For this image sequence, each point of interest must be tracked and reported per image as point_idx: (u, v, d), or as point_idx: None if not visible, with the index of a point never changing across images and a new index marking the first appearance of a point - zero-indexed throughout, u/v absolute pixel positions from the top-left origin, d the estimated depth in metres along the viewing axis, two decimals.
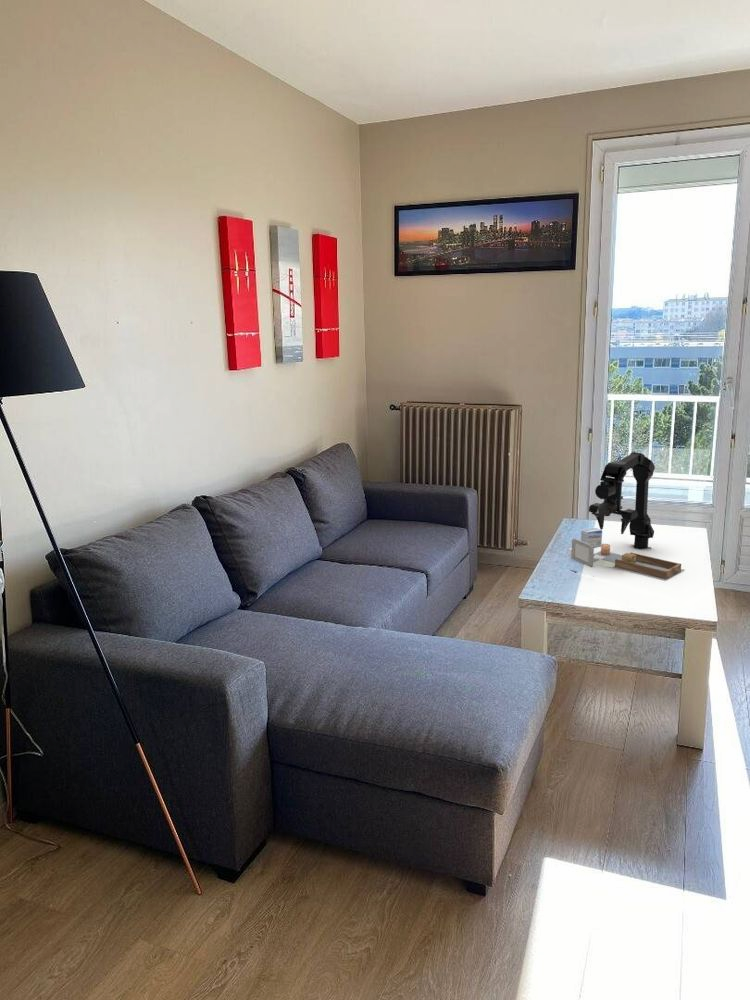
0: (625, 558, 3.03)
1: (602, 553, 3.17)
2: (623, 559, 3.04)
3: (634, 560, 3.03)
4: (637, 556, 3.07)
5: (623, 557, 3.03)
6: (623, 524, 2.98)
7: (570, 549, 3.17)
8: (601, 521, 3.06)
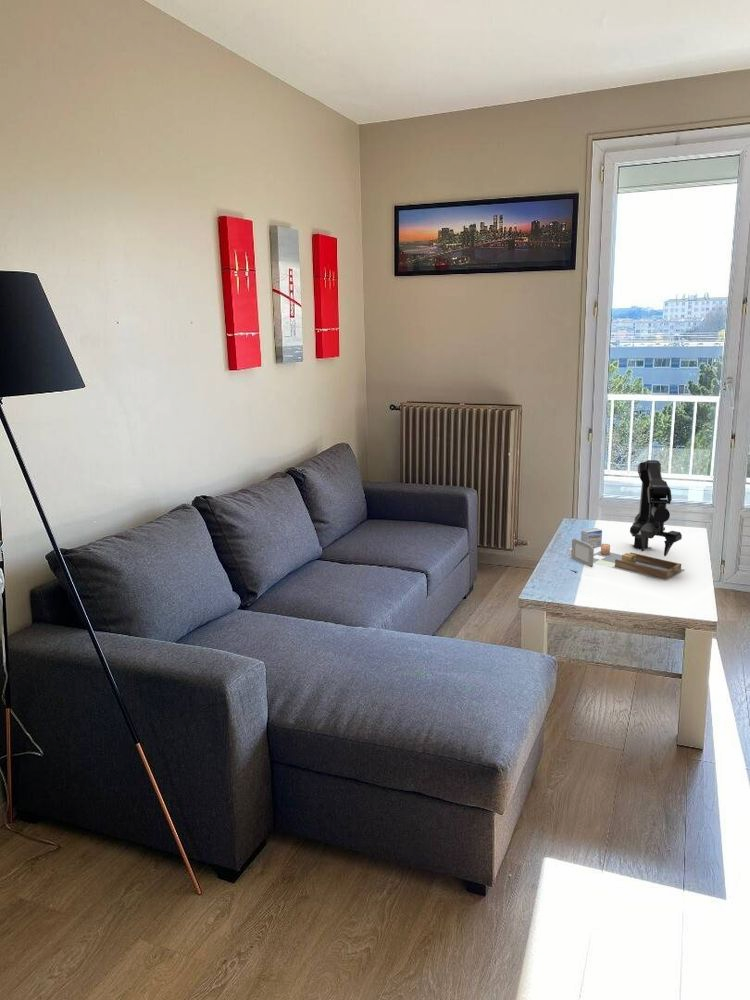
0: (625, 558, 3.03)
1: (602, 553, 3.17)
2: (623, 559, 3.04)
3: (634, 560, 3.03)
4: (637, 556, 3.07)
5: (623, 557, 3.03)
6: (666, 546, 2.90)
7: (570, 549, 3.17)
8: (643, 542, 2.98)
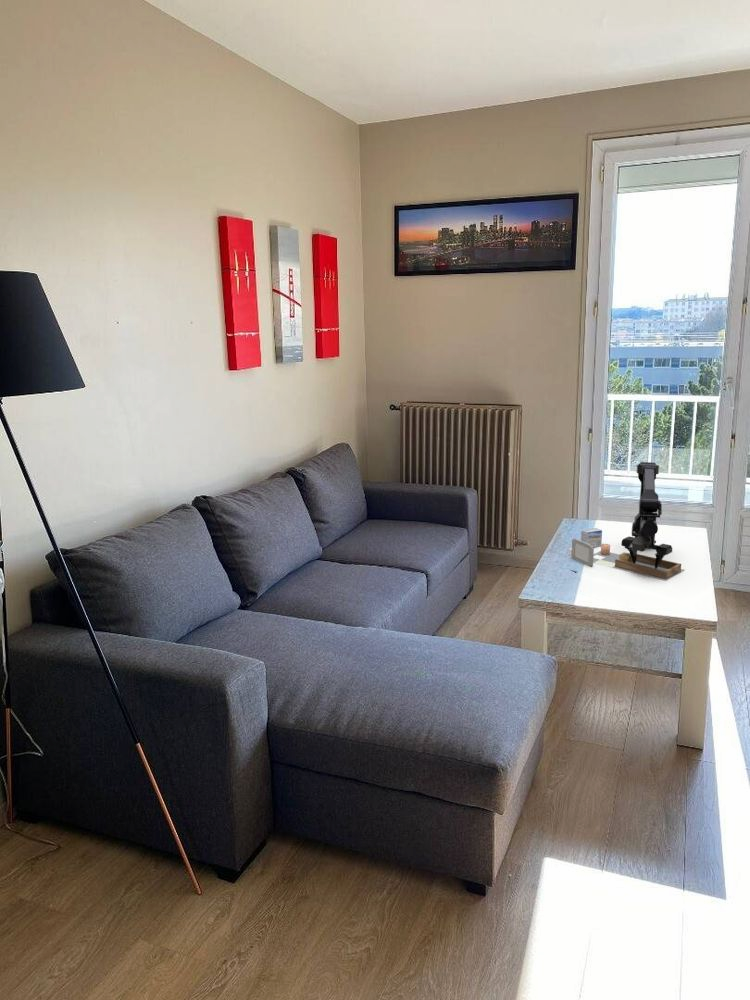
0: (622, 558, 3.04)
1: (602, 553, 3.17)
2: (620, 558, 3.04)
3: (631, 560, 3.04)
4: (637, 556, 3.07)
5: (620, 556, 3.04)
6: (657, 559, 2.94)
7: (570, 549, 3.17)
8: (634, 555, 3.02)
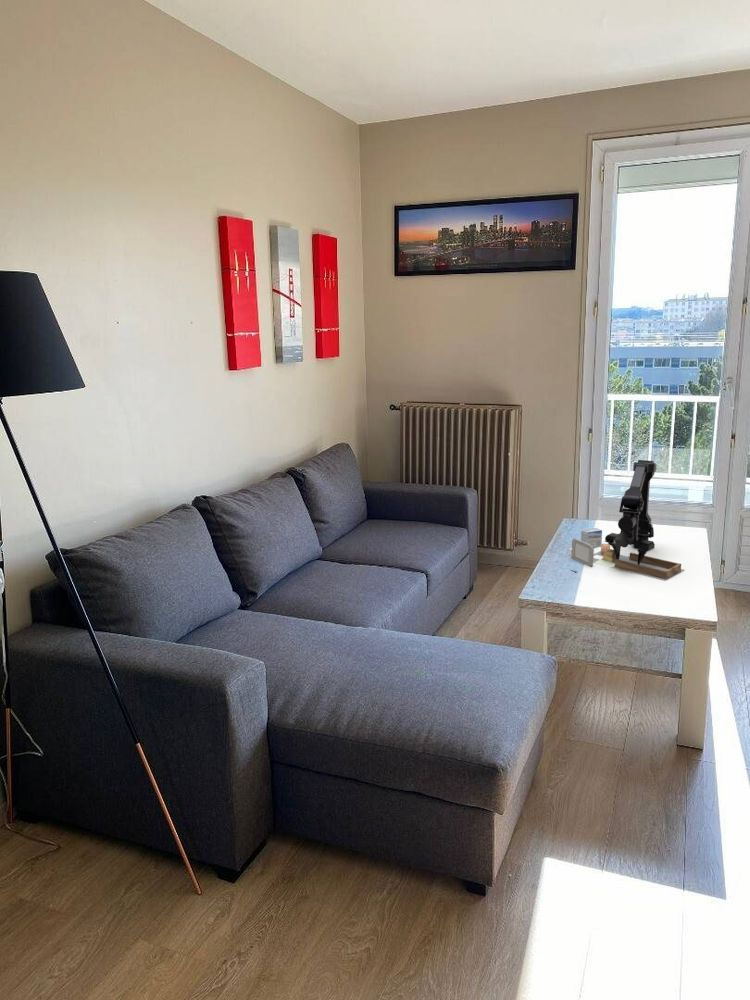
0: (606, 554, 3.09)
1: (602, 553, 3.17)
2: (604, 555, 3.09)
3: (615, 556, 3.09)
4: (637, 556, 3.07)
5: (604, 553, 3.09)
6: (640, 555, 2.99)
7: (570, 549, 3.17)
8: (617, 551, 3.07)
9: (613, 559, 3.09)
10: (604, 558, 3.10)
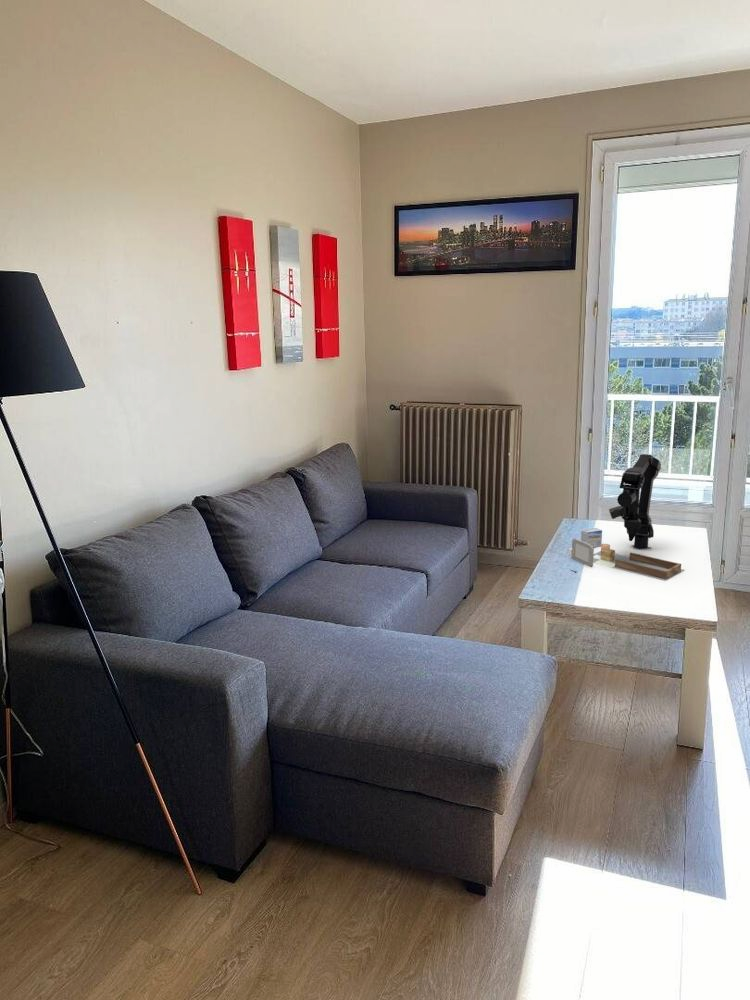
0: (604, 553, 3.09)
1: None
2: (602, 554, 3.10)
3: (613, 556, 3.10)
4: (637, 556, 3.07)
5: (602, 552, 3.10)
6: (628, 531, 3.03)
7: (570, 549, 3.17)
8: None
9: (611, 559, 3.09)
10: (602, 558, 3.11)
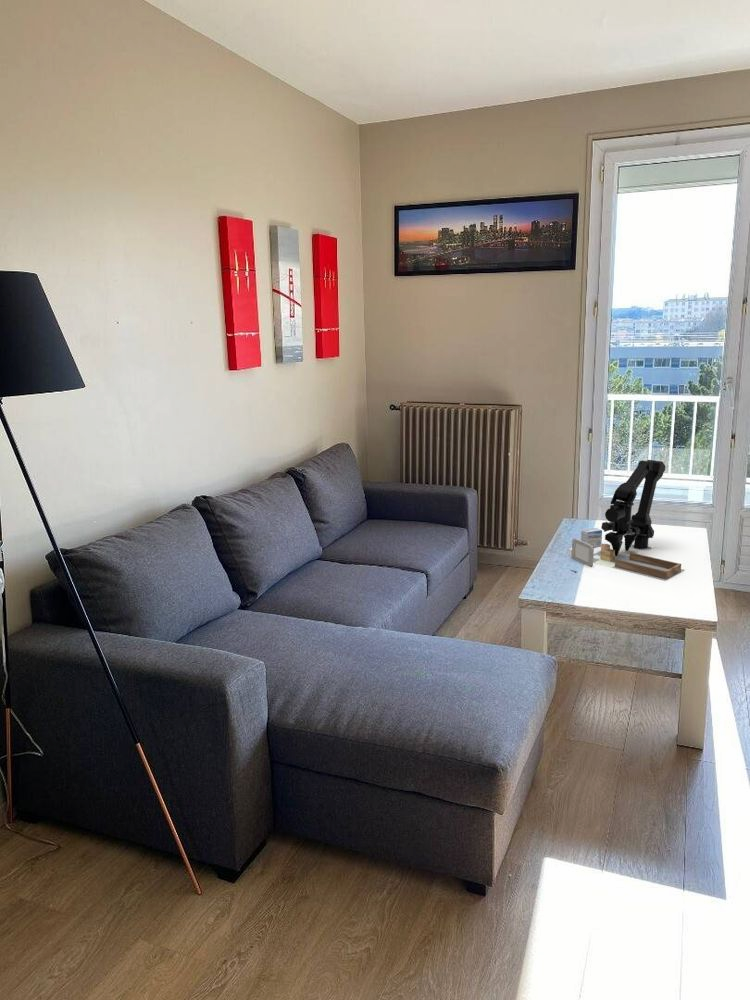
0: (604, 554, 3.09)
1: None
2: (602, 554, 3.10)
3: (613, 556, 3.10)
4: (637, 556, 3.07)
5: (602, 552, 3.10)
6: None
7: (570, 549, 3.17)
8: (626, 542, 3.17)
9: (611, 559, 3.09)
10: (602, 558, 3.10)
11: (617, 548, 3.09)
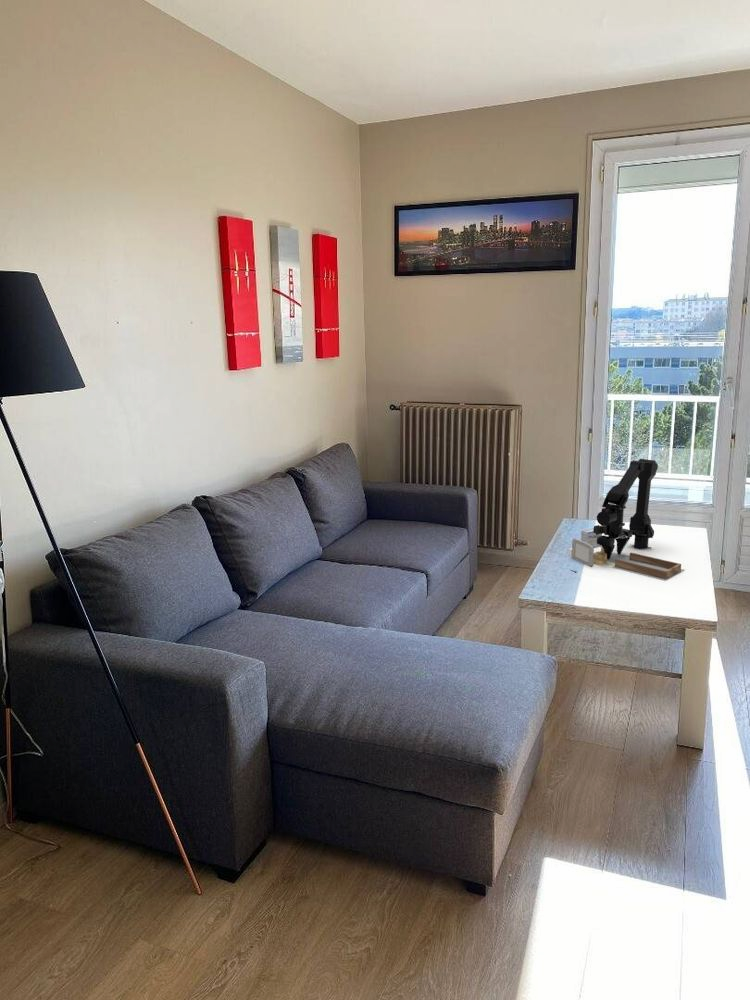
0: (595, 557, 3.06)
1: None
2: (594, 557, 3.06)
3: (605, 559, 3.06)
4: (637, 556, 3.07)
5: (594, 555, 3.06)
6: None
7: (570, 549, 3.17)
8: (618, 546, 3.13)
9: (602, 562, 3.05)
10: (593, 561, 3.07)
11: (609, 552, 3.05)
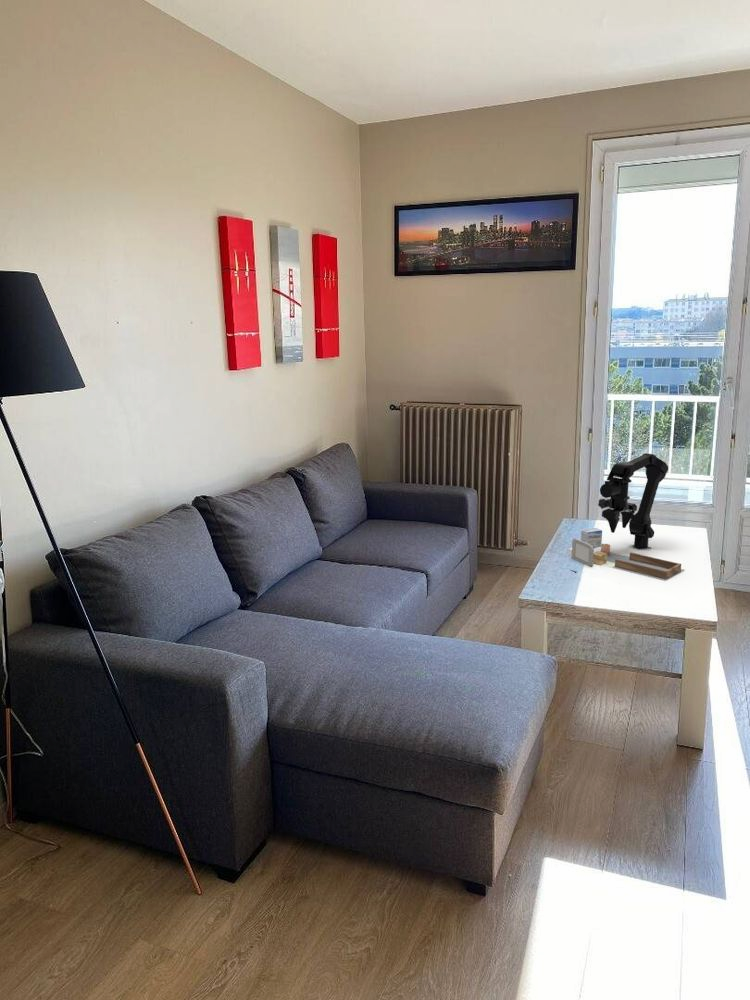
0: (595, 557, 3.06)
1: None
2: (594, 557, 3.06)
3: (605, 559, 3.06)
4: (637, 556, 3.07)
5: (594, 555, 3.06)
6: None
7: (570, 549, 3.17)
8: (624, 519, 3.16)
9: (602, 562, 3.05)
10: (593, 561, 3.07)
11: (614, 525, 3.08)
